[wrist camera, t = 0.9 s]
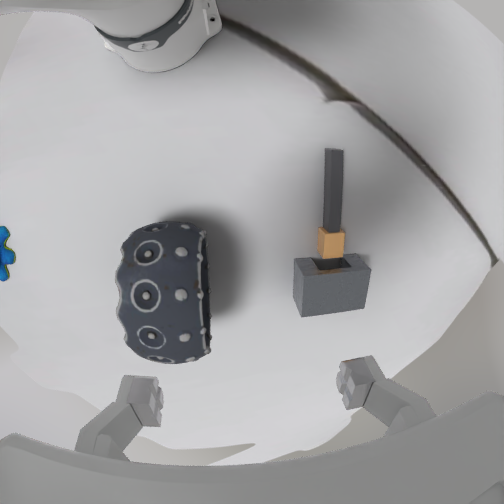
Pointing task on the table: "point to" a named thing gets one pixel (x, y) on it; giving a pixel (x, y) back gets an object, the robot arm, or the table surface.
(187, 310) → the dotted bowl
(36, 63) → the table surface
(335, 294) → the slotted block
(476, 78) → the table surface
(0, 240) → the plush toy
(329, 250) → the plug
